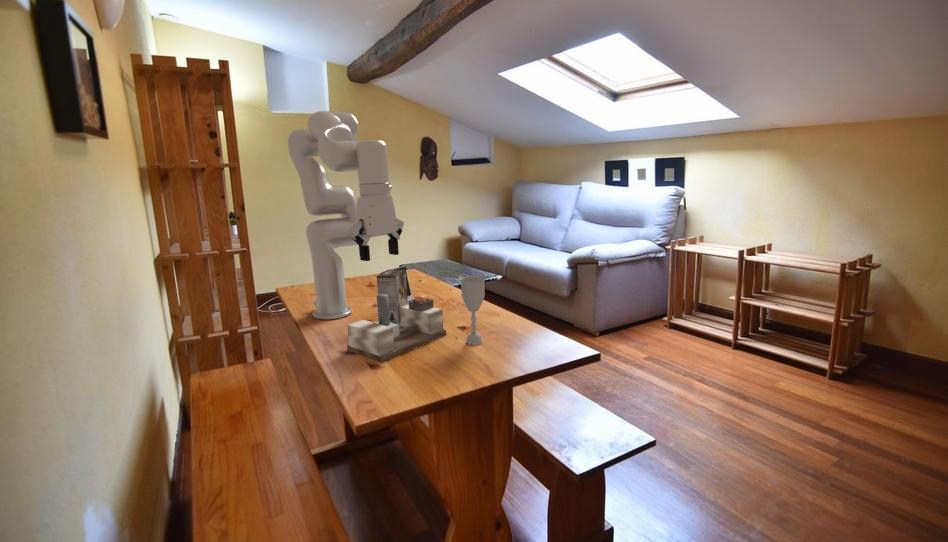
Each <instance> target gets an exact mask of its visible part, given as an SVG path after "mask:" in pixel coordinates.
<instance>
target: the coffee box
mask: <svg viewBox="0 0 948 542" xmlns="http://www.w3.org/2000/svg"><path fill="white" fill-rule="evenodd" d="M376 282H377V285H376V287H377V295H380V294H387V295H388V301H389V316H390V323H394V324H398V325H399V326H400V325H402V321H401V307H402V306H405V305H408V304H409V300H408V282H407V269H386V270H385V271H383V272H381V273H380V274H378V275H377V276H376Z"/></svg>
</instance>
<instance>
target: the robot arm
mask: <svg viewBox="0 0 948 542" xmlns="http://www.w3.org/2000/svg"><path fill="white" fill-rule="evenodd" d="M359 131H360V127H359V121H358V120H357V117H355V115H353V114H352V113H350V112H348V111H335V110H334V111H331V110H330V111H329V110H328V111H327V110H321V111H316V112H314V113H311V115H310V116H309V118H308V119H307V128H299V129H294V130H292V131H291V132H290V133H289V134H288V137H287V148H288V153H289V156H290V159H291V162H292V163H293V166H294V167H295V169H296V172H297V174H298V177H299V181H300V182H299V183H300V185H301V191H302V195H303V200H304V201H303V202H304V204H305V209H306V211H307V213H308V214H309V215H311V216H314V217H323V216H327V217H328V216H337V215H339V216H340V217H337V218H324V219H317V220H314V221H312V222H310V223H309V224H308V225H307V226H306V229H305V233H306V235H305V236H306V239H307V240H306V241H307V244H308V246H309V249H310V250H309V251H310V256H311V262H312V264H311V265H312V270H313V271H312V272H313V281H314V282H313V283H314V292H315V300H313V302H312V305H313V306H315V310H313V312H312V317H313V318H314V319H316V320H317V319H318V320H335V319H336V320H337V319H340V318H344V317H347V316H349V315H351V314H352V312H353V309H352V307H350V306H349V305H347V293H346V284H345V272H344V262H343V260H342V257H341V256H340V255H339V254H338V253H337V251H335V249H338V248H344V247H353V246H358V252H359V258H360V259H359V260H360V261H363V262H370V260H371V254H370V245H369V244H368V242H369V241H370V239H371V238H375V237H381V236H385V235H387V236H388V238H389V239H388V240H387V241H388V245H387V246H388V254H389V255H392V256H393V255H394V256H398V255H399V253H400V252H399V240H400V238H401V237H400V236H401V234H402V232H403V229H404V225H405V223H404V221H403V220H401V219H399V218H397V215H396V209H395V208H396V207H395V204H394V203H395V202H394V199H393V196H392V195H391V191H392V190H393V186H392V185H390V173H389V171H390V170H389V160H388V148H387V147H388V146H387V144H386V142H385V141H383V140H379V139H375V140H374V139H370V140H369V139H367V140H360V141H358V140H357V138H358V136H359ZM314 157H319V158H320V160H321V162H322V164H324V165H325V166H326V167H327V168H328V169H329V170H331V171H333V172H341V173H342V172H357V175H358V187H359V196H358V197H356V196H355V194H354V192H353V190H352V189H351V188H350V187H349V186H348V185H343V184H341V185H340V184H337V185H331V184H330V183H329V178H328V174H327V171H326V169H325V168H324V166H323V165H322V164H321V163H320V162H319V161H318V160H316V159H315V158H314Z"/></svg>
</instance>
